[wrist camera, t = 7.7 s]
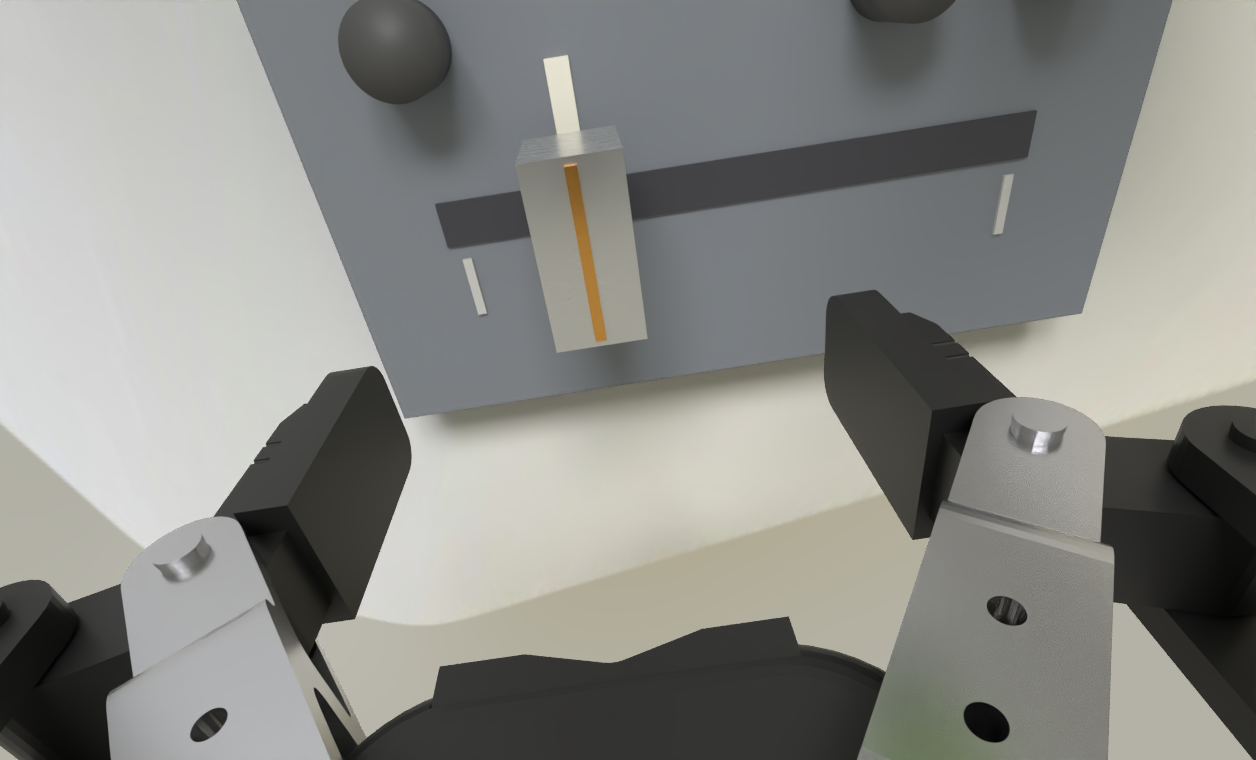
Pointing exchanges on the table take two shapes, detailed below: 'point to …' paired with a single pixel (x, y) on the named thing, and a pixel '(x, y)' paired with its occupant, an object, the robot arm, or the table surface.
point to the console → (707, 167)
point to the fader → (583, 237)
